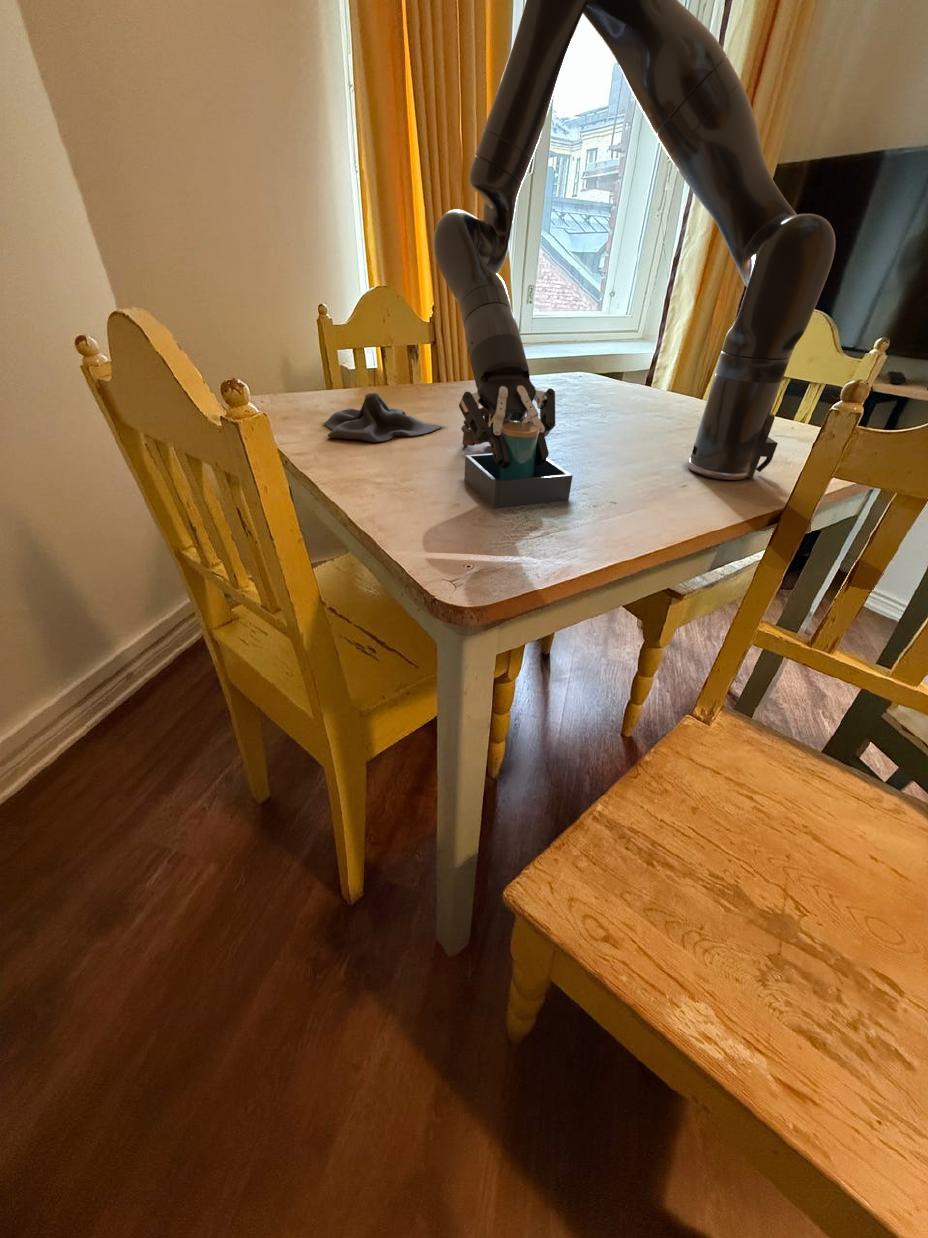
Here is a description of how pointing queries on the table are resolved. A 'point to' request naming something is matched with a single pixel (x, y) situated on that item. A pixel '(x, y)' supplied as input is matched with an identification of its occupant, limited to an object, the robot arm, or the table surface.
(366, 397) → the cloth
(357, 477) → the table surface
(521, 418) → the robot arm
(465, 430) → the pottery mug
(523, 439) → the spice jar
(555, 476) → the bin
